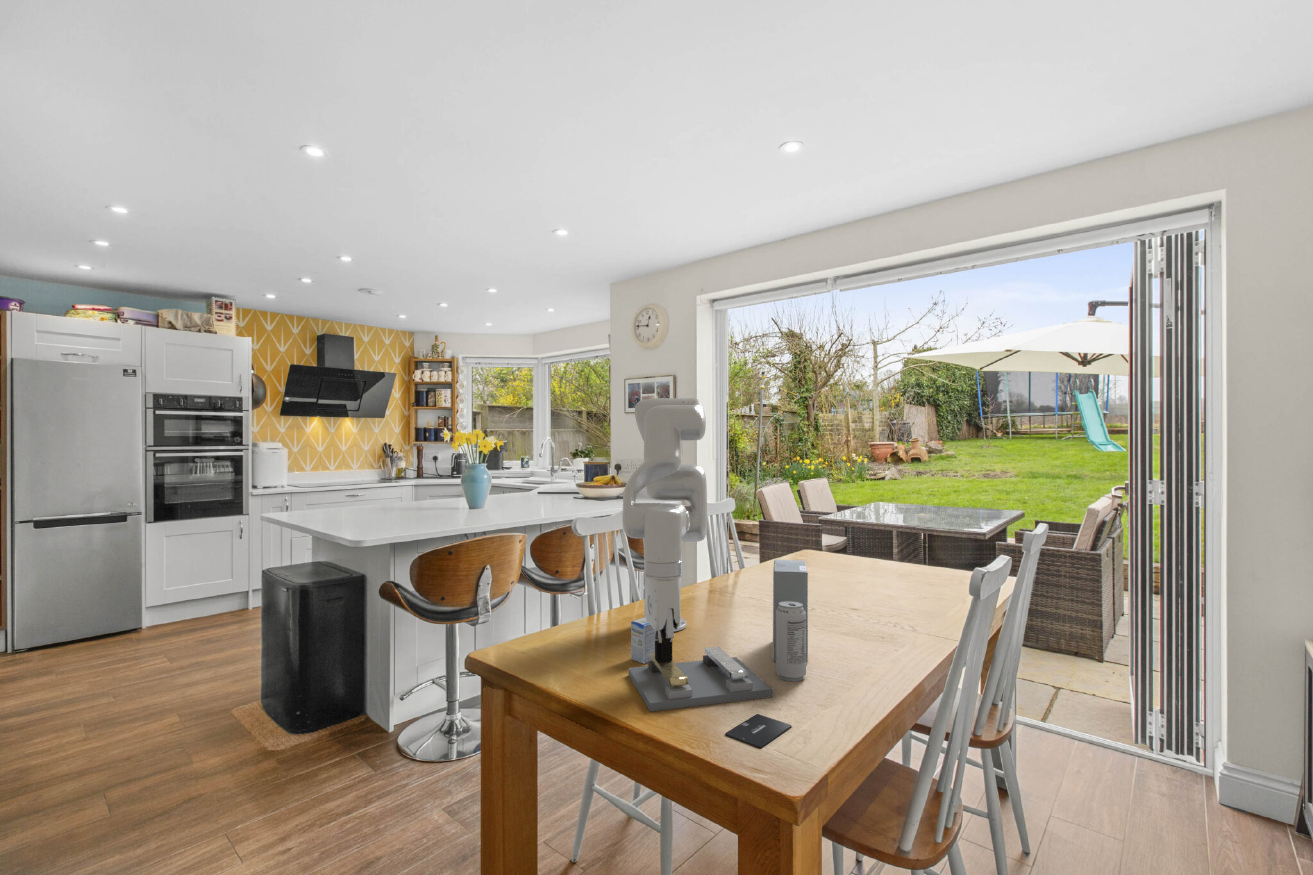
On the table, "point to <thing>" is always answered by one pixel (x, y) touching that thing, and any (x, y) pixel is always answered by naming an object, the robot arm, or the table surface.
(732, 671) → the steel strap
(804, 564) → the hard drive box
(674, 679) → the brass strap
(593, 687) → the table surface
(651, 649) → the medicine box
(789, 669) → the energy drink can
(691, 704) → the board
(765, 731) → the solid state drive
